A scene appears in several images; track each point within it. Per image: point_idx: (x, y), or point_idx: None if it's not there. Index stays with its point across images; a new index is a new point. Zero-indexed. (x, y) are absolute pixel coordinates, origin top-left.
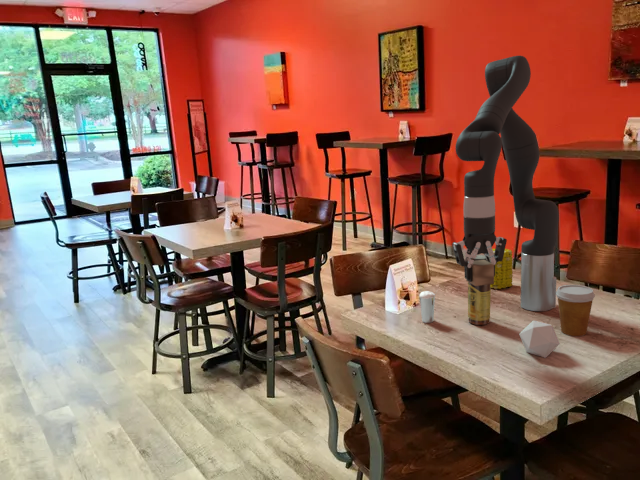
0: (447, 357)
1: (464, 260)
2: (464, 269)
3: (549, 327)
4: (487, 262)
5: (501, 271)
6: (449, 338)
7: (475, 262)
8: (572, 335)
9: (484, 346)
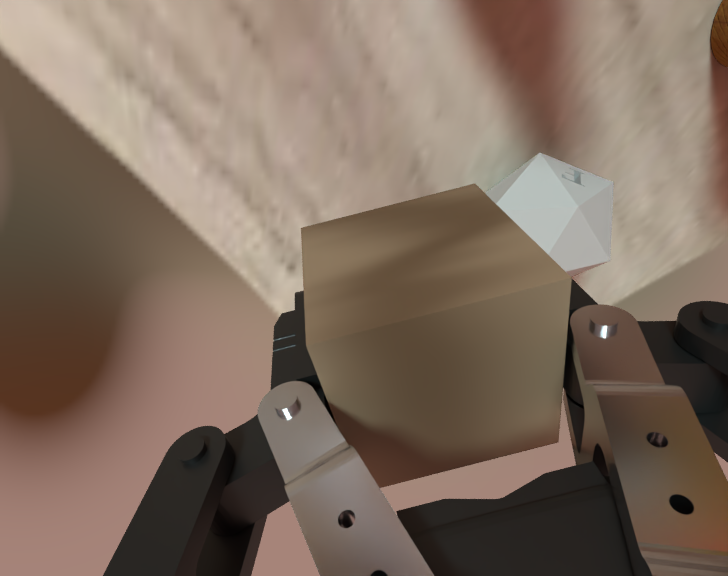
0: (207, 215)
1: (254, 557)
2: (271, 378)
3: (590, 267)
4: (539, 388)
5: None
6: (221, 9)
7: (415, 376)
8: (720, 62)
9: (361, 128)
